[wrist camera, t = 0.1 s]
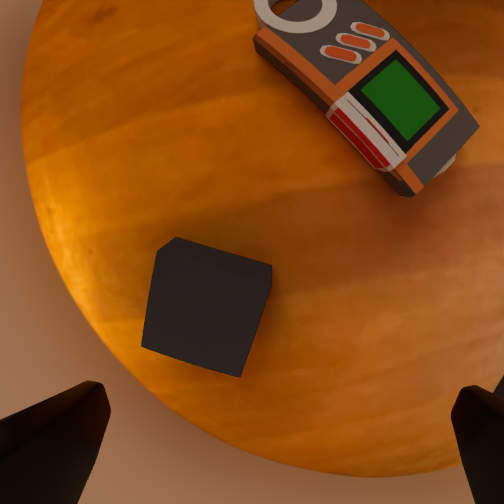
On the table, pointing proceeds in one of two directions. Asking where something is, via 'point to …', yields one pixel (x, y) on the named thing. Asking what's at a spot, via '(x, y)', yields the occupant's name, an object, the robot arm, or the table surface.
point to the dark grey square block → (205, 305)
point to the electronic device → (368, 86)
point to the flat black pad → (500, 389)
